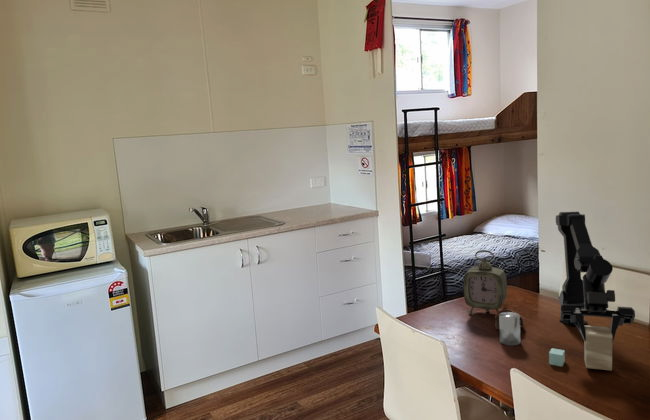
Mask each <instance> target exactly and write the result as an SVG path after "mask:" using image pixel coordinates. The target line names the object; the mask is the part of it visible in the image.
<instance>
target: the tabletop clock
mask: <svg viewBox="0 0 650 420" xmlns="http://www.w3.org/2000/svg"><path fill="white" fill-rule="evenodd" d="M479 253H489V254H491V256H492V257H491V258H489V259H487V257H483V258H480V257H478V256H477V254H479ZM474 257H475V258H476V259H477V260H478V261H481V262H479V264H478V265H477V266H473V267H470V268H469V269H468V270H467V272H465V274H464V276H463V284H462V285H463V286H462V289H463V290H462V291H463V298H464V301H465V303H466V305H467V306H469V307H471V308H470V309H469V310H468V311H467V313H468V314H469V315H472V314H473V313H474V312H473V310H474V308H476V309H482V310H485V312H486V313H489V312H490V310H495V311H496V312H497V313H498V312H499V311H500V310H499V309H501V308H502V307H503V304H504V303H505V302H506V299H507V294H508V282H507V275H506V273H505V270H503V269H501V268H498V267H493V265H492V264H491V263H490V262H491V261H493V260H494V259H495V255H494V253H493V252H491V250H486V249H481V250H478V251H476V252H475V255H474ZM497 313H496V314H497ZM498 319H499V317H498Z"/></svg>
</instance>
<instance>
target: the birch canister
mask: <svg viewBox="0 0 650 420" xmlns="http://www.w3.org/2000/svg"><path fill="white" fill-rule="evenodd" d="M584 328H585V333H586V341H584V340H583V341H584V344H583V346H584V349H583V350H584V351H583V352H584V353H583V356H584V357H583V359H584V364H585V368H586V369H593V370H605V371H611V372H612V371H613V343H612V332H611V326H600V325H599V326H597V325H587V324H584Z"/></svg>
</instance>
